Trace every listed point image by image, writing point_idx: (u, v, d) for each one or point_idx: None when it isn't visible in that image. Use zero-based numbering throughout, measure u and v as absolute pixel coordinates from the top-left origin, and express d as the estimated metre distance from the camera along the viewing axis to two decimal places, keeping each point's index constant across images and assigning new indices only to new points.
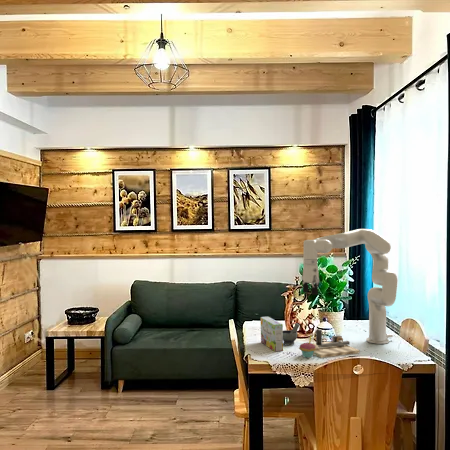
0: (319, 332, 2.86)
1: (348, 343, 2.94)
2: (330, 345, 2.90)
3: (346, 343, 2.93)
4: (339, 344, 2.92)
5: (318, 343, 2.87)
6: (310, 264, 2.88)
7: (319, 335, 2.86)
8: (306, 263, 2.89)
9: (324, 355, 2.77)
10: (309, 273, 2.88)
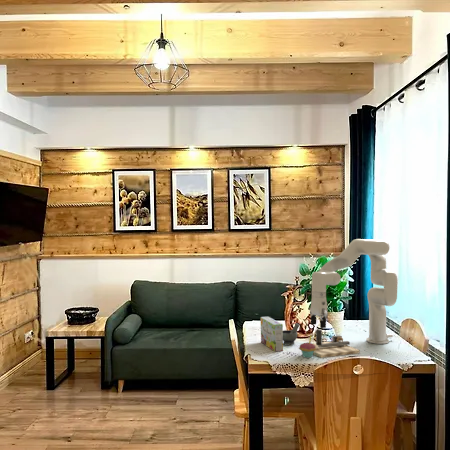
0: (319, 332, 2.86)
1: (348, 343, 2.94)
2: (330, 345, 2.90)
3: (346, 343, 2.93)
4: (339, 344, 2.92)
5: (318, 343, 2.87)
6: (319, 297, 2.84)
7: (319, 335, 2.86)
8: (314, 296, 2.84)
9: (324, 355, 2.77)
10: (318, 306, 2.83)
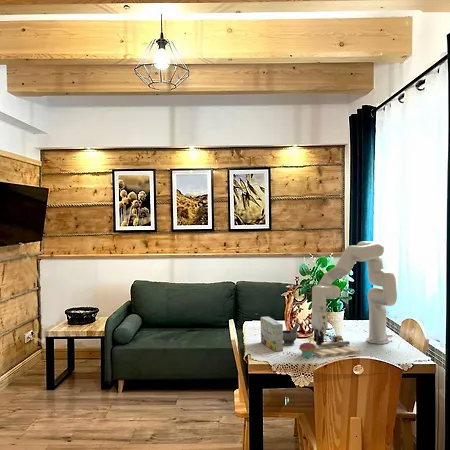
0: None
1: (348, 343, 2.94)
2: (330, 345, 2.90)
3: (346, 343, 2.93)
4: (339, 344, 2.92)
5: (318, 343, 2.87)
6: (319, 311, 2.84)
7: None
8: (315, 310, 2.85)
9: (324, 355, 2.77)
10: (318, 320, 2.84)
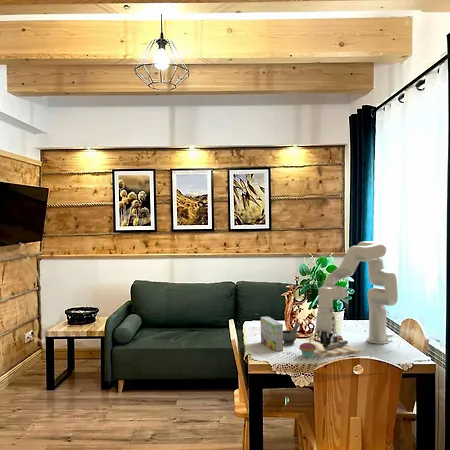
0: (326, 334, 2.82)
1: (346, 342, 2.95)
2: (334, 346, 2.87)
3: (345, 342, 2.94)
4: (340, 344, 2.91)
5: (325, 345, 2.82)
6: (328, 312, 2.80)
7: (326, 337, 2.82)
8: (324, 312, 2.80)
9: (324, 355, 2.77)
10: (328, 321, 2.79)
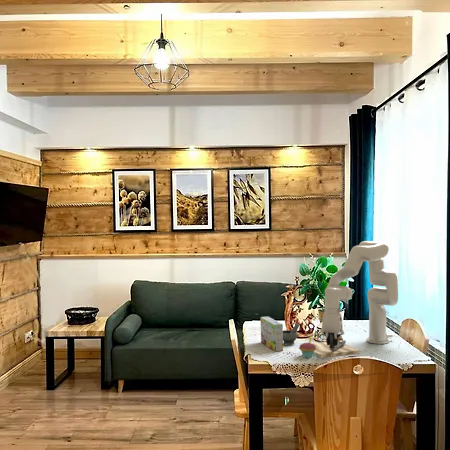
0: None
1: (345, 342, 2.96)
2: (338, 346, 2.86)
3: (344, 342, 2.95)
4: (341, 344, 2.91)
5: (333, 346, 2.80)
6: (336, 313, 2.77)
7: (334, 338, 2.80)
8: (332, 313, 2.77)
9: (324, 355, 2.77)
10: (336, 322, 2.77)
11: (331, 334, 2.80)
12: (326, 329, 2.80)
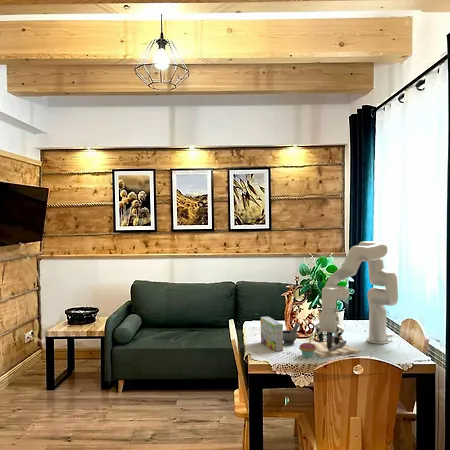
0: (331, 335, 2.81)
1: (345, 342, 2.96)
2: (336, 346, 2.87)
3: (344, 342, 2.95)
4: (341, 344, 2.91)
5: (330, 346, 2.81)
6: (332, 313, 2.78)
7: (331, 338, 2.81)
8: (328, 312, 2.78)
9: (324, 355, 2.77)
10: (332, 322, 2.78)
11: (328, 334, 2.81)
12: (323, 328, 2.82)
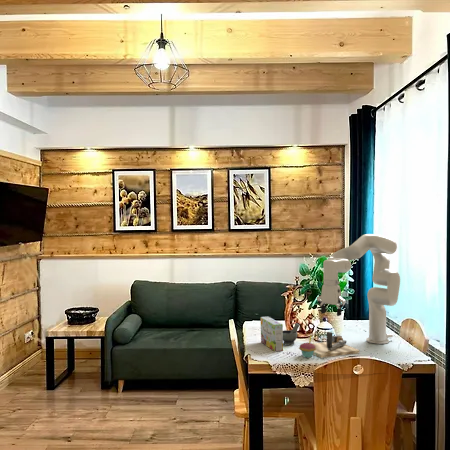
0: (331, 335, 2.81)
1: (345, 342, 2.96)
2: (336, 346, 2.87)
3: (344, 342, 2.95)
4: (341, 344, 2.91)
5: (330, 346, 2.81)
6: (334, 285, 2.80)
7: (331, 338, 2.81)
8: (330, 284, 2.80)
9: (324, 355, 2.77)
10: (333, 294, 2.80)
11: (328, 334, 2.81)
12: (325, 300, 2.84)
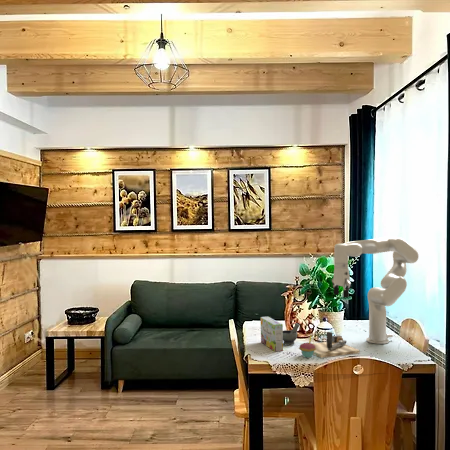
0: (331, 335, 2.81)
1: (345, 342, 2.96)
2: (336, 346, 2.87)
3: (344, 342, 2.95)
4: (341, 344, 2.91)
5: (330, 346, 2.81)
6: (341, 267, 2.95)
7: (331, 338, 2.81)
8: (337, 266, 2.96)
9: (324, 355, 2.77)
10: (341, 276, 2.95)
11: (328, 334, 2.81)
12: (335, 282, 3.01)
